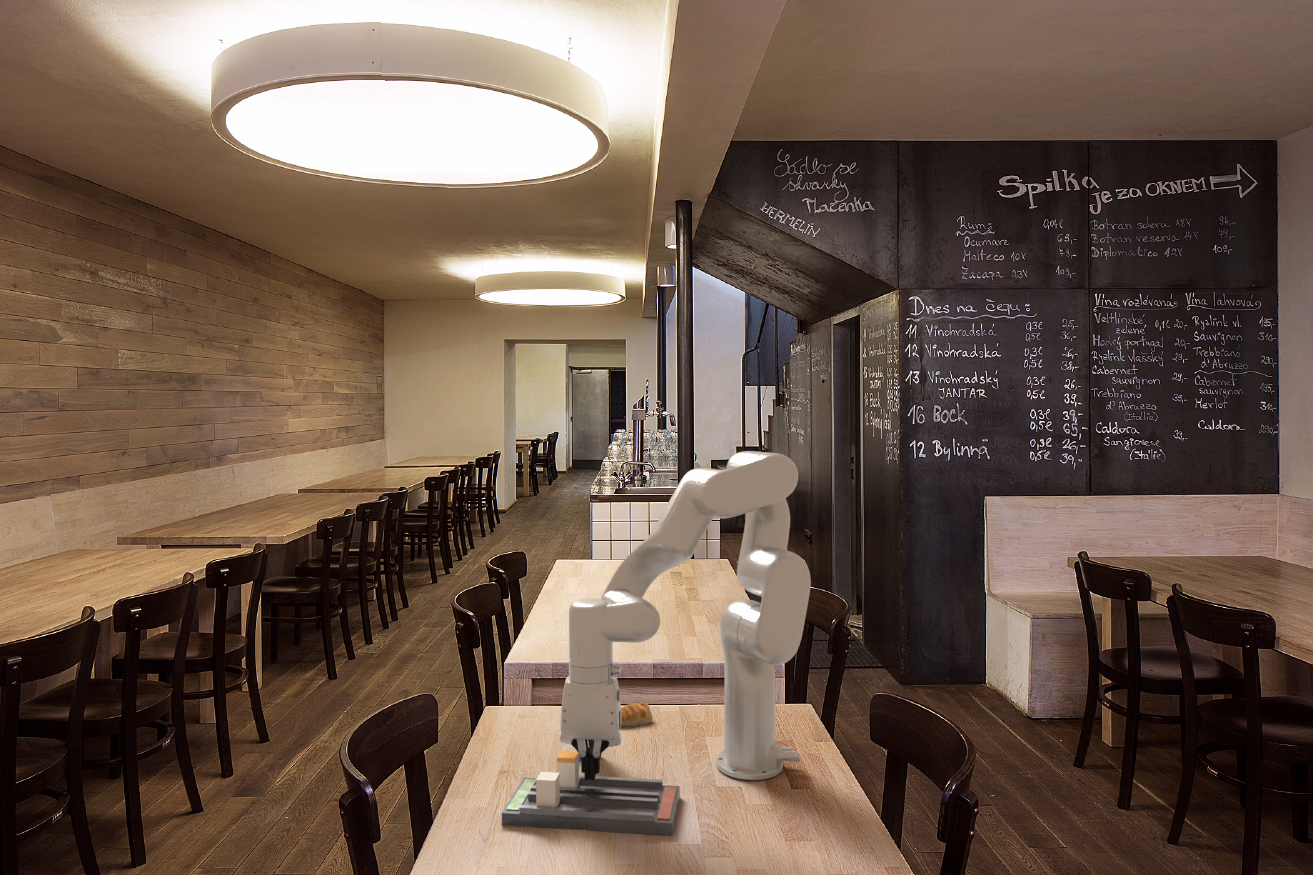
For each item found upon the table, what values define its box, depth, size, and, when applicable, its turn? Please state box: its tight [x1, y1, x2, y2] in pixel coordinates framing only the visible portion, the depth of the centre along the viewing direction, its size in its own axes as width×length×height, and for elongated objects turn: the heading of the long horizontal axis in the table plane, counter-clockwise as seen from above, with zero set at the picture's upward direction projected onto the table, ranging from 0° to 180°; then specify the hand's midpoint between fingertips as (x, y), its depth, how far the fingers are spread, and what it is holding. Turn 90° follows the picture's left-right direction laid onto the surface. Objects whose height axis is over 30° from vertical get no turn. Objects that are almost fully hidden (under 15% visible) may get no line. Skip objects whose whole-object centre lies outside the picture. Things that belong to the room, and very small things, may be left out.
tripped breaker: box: [556, 750, 580, 788], centre depth 140 cm, size 3×3×6 cm
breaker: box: [536, 771, 560, 807], centre depth 134 cm, size 3×3×5 cm
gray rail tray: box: [501, 774, 681, 836], centre depth 136 cm, size 28×13×3 cm, turn 83°
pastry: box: [621, 701, 654, 727], centre depth 176 cm, size 9×7×4 cm
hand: (590, 776), depth 140 cm, fingers closed
